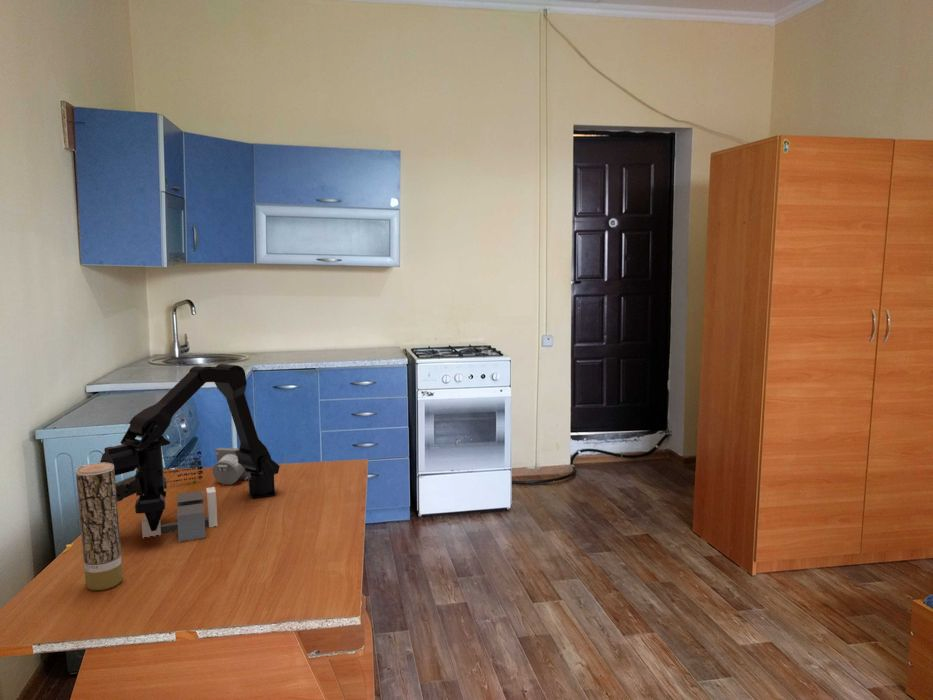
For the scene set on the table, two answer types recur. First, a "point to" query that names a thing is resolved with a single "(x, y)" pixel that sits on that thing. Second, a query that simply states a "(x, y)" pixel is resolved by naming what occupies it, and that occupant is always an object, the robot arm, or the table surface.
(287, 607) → the table surface
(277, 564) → the table surface
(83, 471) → the wooden log
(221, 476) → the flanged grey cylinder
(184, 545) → the table surface
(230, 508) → the table surface
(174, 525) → the grey rod with blocks
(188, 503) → the block
